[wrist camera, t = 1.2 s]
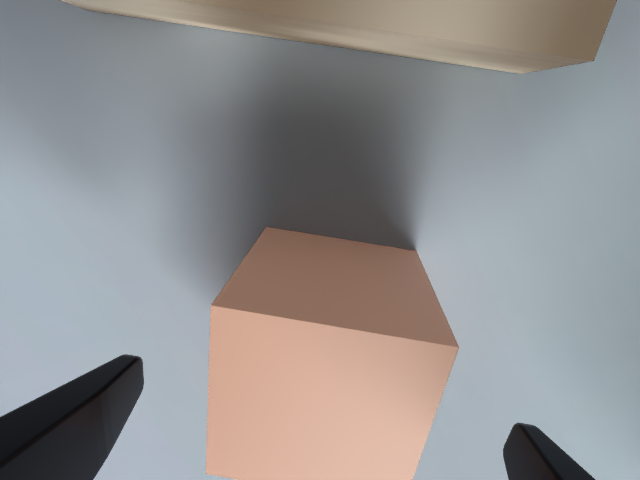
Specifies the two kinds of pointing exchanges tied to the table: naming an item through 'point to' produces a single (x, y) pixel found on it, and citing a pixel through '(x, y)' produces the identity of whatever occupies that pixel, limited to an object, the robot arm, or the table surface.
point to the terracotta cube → (324, 362)
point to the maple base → (404, 26)
